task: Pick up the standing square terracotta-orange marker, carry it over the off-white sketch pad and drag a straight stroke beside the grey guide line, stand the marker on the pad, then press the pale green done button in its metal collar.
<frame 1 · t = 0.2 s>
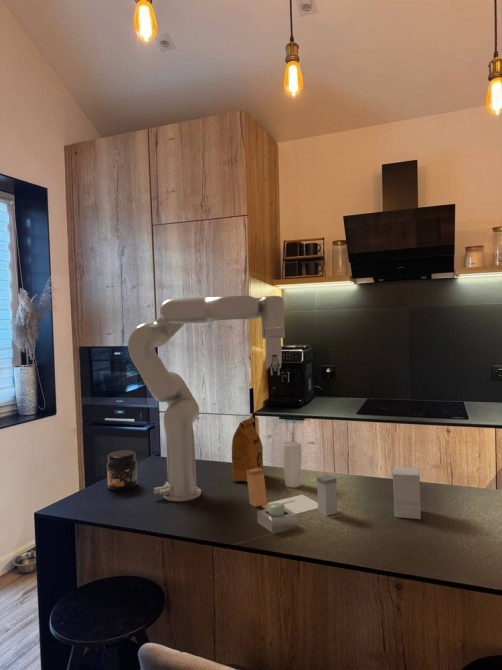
hand: (275, 385, 156), 36 cm above the counter, tool pointing down, fingers open, 9 cm apart
button collar: (277, 525, 134), on the counter
done button: (276, 511, 133), point 4 cm above the counter, slide at 0.0 cm
supplement container: (122, 487, 171), on the counter
orange marker: (258, 504, 149), on the counter, tilted 8°
supplement box: (407, 514, 138), on the counter
grey marker: (327, 513, 141), on the counter
sketch pad: (292, 506, 147), on the counter
drinking glass: (293, 486, 166), on the counter
coffee package: (248, 479, 176), on the counter
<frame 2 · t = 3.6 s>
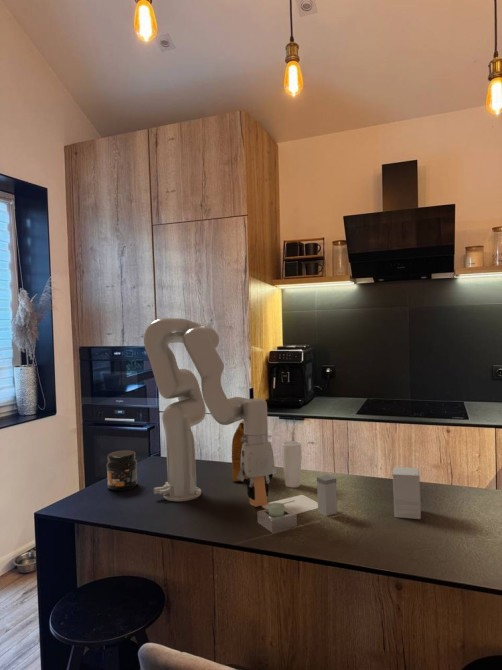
hand: (258, 496, 149), 3 cm above the counter, tool pointing down, fingers closed on orange marker, 4 cm apart
orange marker: (258, 504, 149), on the counter, tilted 8°, touching gripper
everything else where it was.
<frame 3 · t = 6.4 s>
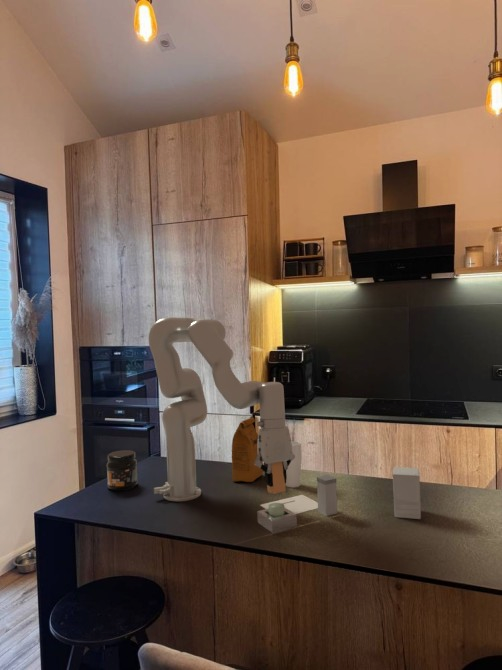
hand: (276, 483, 143), 9 cm above the counter, tool pointing down, fingers closed on orange marker, 4 cm apart
orange marker: (276, 491, 143), point 6 cm above the counter, tilted 9°, touching gripper
everything else where it was.
when the fingers open (4 cm above the counter, at t = 9.4 s): orange marker stays where it is, resting on sketch pad.
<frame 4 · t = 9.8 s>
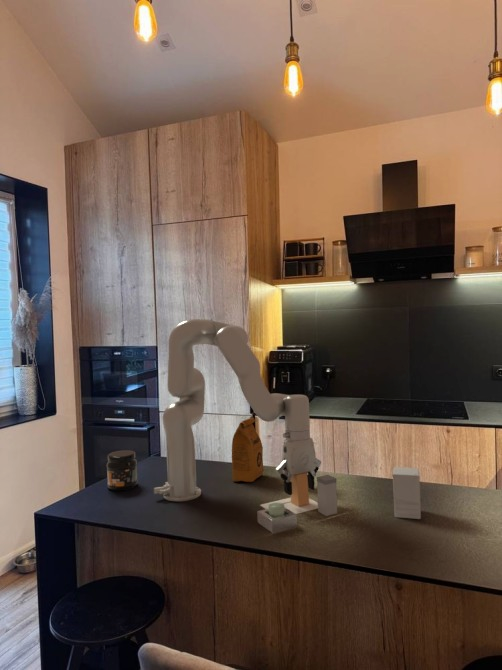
hand: (299, 490, 148), 4 cm above the counter, tool pointing down, fingers open, 7 cm apart
orange marker: (300, 503, 148), point 1 cm above the counter, touching sketch pad
everything else where it was.
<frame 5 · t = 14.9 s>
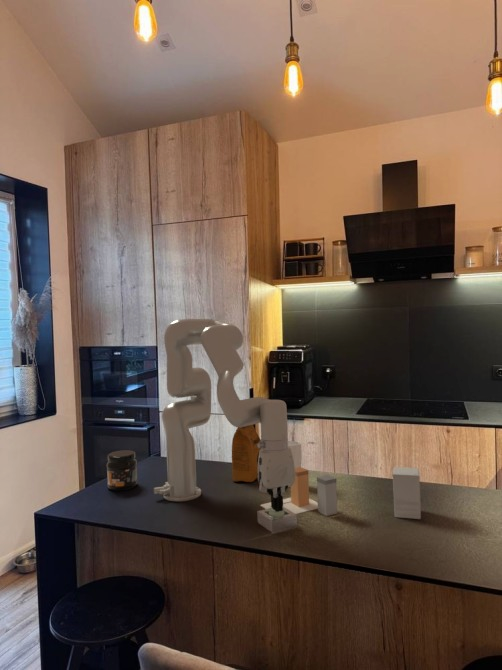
hand: (277, 509, 133), 4 cm above the counter, tool pointing down, fingers closed
done button: (276, 515, 133), point 3 cm above the counter, slide at 1.1 cm, touching gripper
everything else where it was.
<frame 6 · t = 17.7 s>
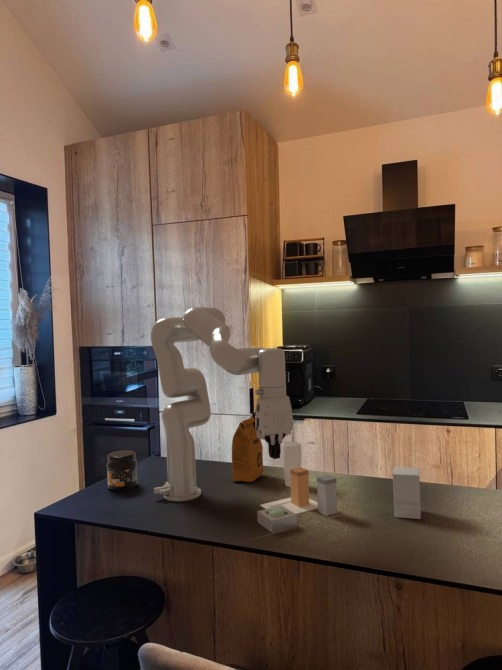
hand: (274, 457, 133), 19 cm above the counter, tool pointing down, fingers closed
done button: (276, 516, 133), point 2 cm above the counter, slide at 1.4 cm
everything else where it was.
at the end: orange marker inside the target area (0.1 cm from its centre), resting on sketch pad; orange marker tilted 0°; done button slide at 1.4 cm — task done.
